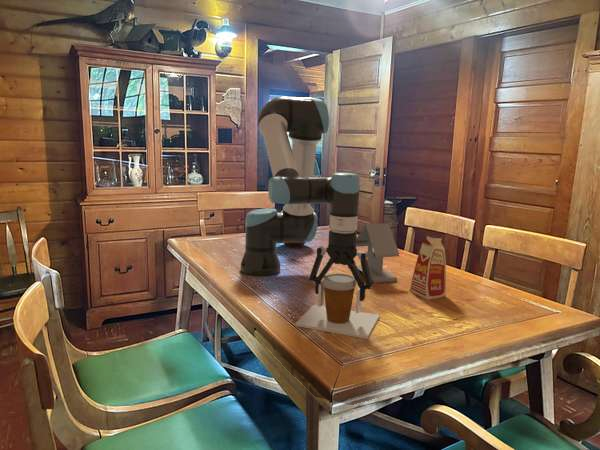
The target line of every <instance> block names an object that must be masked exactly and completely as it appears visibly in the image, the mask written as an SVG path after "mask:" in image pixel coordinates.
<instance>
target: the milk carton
mask: <svg viewBox="0 0 600 450" xmlns="http://www.w3.org/2000/svg"><path fill="white" fill-rule="evenodd" d="M442 240H443V238H435V237H431V236H428V235H426V239H425V240H424V241H423V242H422V243H421V247H420V249H419V252H418V255H417V258H416V262H415V266H414V269H413V273H412V278H411V282H410V286H409V292H411V293H413V294H415V295H417V296H419V297H421V298H423V299H425V300H426V301H427V300H433V299H437V298H438V299H439V298H442V297H443V298H444V297H446V296H447V295H446V294H447V263H446V262H447V261H446V249H445V246H444V244H443V243H442Z"/></svg>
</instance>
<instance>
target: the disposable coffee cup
mask: <svg viewBox="0 0 600 450" xmlns="http://www.w3.org/2000/svg"><path fill="white" fill-rule="evenodd" d="M321 282H322V284H323V286H324V302H325V306H326V314H327V320H328V321H330V322H333V323H345V322H348V321H349V318H350V312H351V311H352V307H353V301H354V300H353V299H354V293H355V288H356V285H358V284H357V282H356V280H355V278H354V276H353V275H350V274H345V273H330V274H326V275H325V276H324V278H323V279H322V281H321Z"/></svg>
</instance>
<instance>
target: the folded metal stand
mask: <svg viewBox="0 0 600 450" xmlns="http://www.w3.org/2000/svg"><path fill="white" fill-rule="evenodd" d="M357 247H367V253H368V254H367V262H368V267H369V271H370V275H371V279H372V283H373V284H383V283H384V284H385V283H397V281H398V276H395V275H394V274H392V273H390V272H389V271H387V270H385V269H384V267H383V265H384V258H392V257H393V258H395V257H400V252H399V249H398V246H397V242H396V240H395V237H394V234H393V231H392V228H391V226H390V224H389V223H388V222H387V223H386V222H385V223H365V224H364V226H363V227H362V229H361V231H360V232H359V234H357V239H356V248H357ZM356 266H357V268H358V270H359V272H362V273H363V271H362V267H361V264H360V265H356Z"/></svg>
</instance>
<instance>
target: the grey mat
mask: <svg viewBox="0 0 600 450" xmlns="http://www.w3.org/2000/svg"><path fill="white" fill-rule="evenodd" d="M379 319H380V315H379V314H376V313H368V312H363V311H360V312H359V313H356V310H351V312H350V318H349V321H348V322H345V323H333V322H330V321H328V320H327V314H326V305H322V306H321V307H318V304H313V305H312V306H311V307H310V308H309V309H308V310H307V311H306V312H305V313H304V314H303V315H302V316H301V317H300V318H298V320H297V321H296V322H295V323H294V326H295V327H298V328H299V327H301V328H306V329H311V330H316V331H321V332H322V331H323V332H326V333H327V332H328V333H333V334H338V335H343V336H344V335H345V336H350V337H354V338H359V339H363V340H364V339H365V340H368V338H369V337H370V335H371V333H372V331H373V329H374V328H375V325H376V324H377V322H378V320H379Z"/></svg>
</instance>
